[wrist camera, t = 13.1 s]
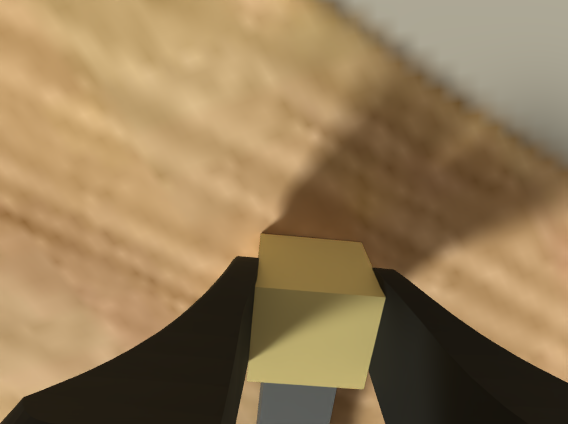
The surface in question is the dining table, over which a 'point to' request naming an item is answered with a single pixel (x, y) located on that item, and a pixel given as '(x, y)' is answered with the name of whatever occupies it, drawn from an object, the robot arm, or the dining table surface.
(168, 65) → the dining table surface
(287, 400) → the plug
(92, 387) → the robot arm
